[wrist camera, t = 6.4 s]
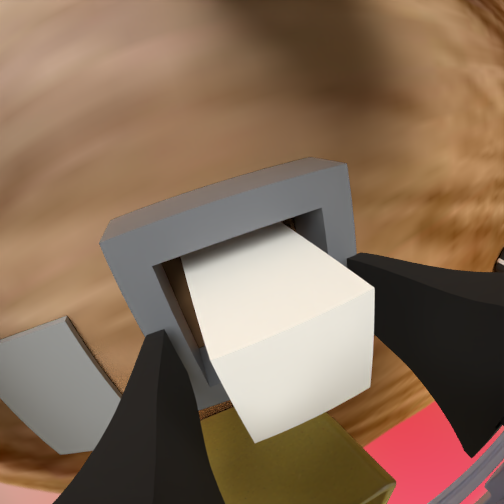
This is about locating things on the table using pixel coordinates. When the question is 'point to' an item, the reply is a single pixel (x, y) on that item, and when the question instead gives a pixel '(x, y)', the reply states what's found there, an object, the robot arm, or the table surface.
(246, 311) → the plug
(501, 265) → the battery charger
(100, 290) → the table surface
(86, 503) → the robot arm
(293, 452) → the flower pot
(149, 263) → the socket housing
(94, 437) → the mat
